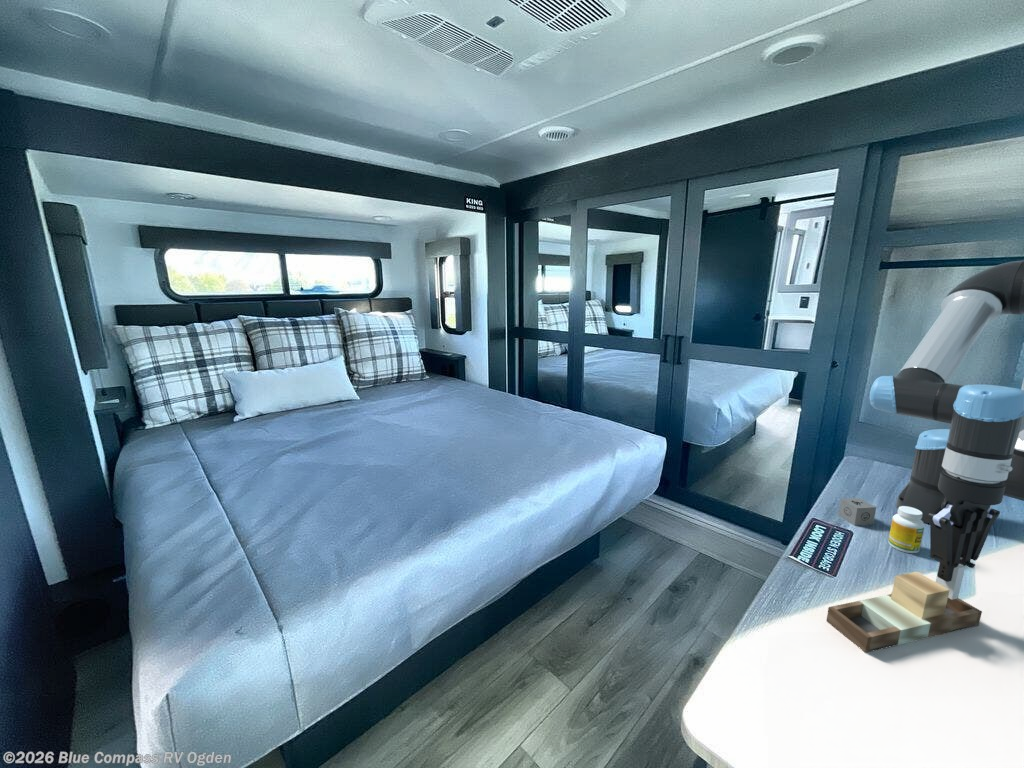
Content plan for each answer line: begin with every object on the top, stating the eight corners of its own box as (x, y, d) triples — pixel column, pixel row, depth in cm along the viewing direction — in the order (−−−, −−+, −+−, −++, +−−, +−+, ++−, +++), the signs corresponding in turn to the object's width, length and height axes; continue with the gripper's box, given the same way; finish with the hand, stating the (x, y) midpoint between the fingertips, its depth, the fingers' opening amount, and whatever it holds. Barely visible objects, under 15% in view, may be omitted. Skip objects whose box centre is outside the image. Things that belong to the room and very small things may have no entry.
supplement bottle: (890, 537, 99) (897, 501, 97) (921, 547, 95) (928, 510, 93) (885, 546, 96) (892, 509, 94) (916, 557, 92) (924, 519, 90)
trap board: (932, 598, 80) (935, 584, 79) (978, 625, 73) (982, 611, 73) (826, 621, 75) (828, 607, 75) (865, 652, 69) (868, 637, 68)
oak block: (912, 594, 77) (916, 571, 76) (944, 614, 72) (949, 589, 71) (890, 599, 76) (895, 575, 75) (921, 619, 71) (927, 594, 70)
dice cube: (838, 515, 110) (841, 498, 109) (856, 514, 110) (859, 497, 109) (854, 525, 105) (857, 508, 104) (873, 524, 105) (876, 507, 104)
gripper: (971, 489, 65) (942, 615, 70) (1031, 480, 68) (999, 602, 73) (917, 470, 72) (894, 585, 77) (973, 462, 75) (948, 574, 80)
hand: (945, 593), depth 75 cm, fingers closed
